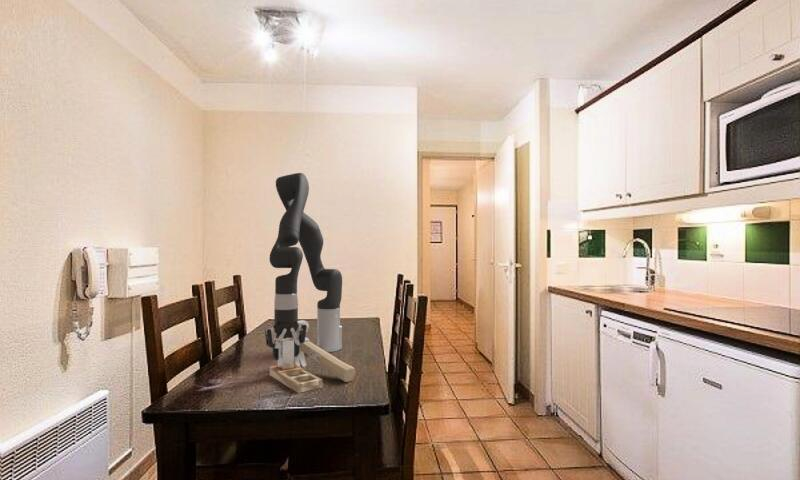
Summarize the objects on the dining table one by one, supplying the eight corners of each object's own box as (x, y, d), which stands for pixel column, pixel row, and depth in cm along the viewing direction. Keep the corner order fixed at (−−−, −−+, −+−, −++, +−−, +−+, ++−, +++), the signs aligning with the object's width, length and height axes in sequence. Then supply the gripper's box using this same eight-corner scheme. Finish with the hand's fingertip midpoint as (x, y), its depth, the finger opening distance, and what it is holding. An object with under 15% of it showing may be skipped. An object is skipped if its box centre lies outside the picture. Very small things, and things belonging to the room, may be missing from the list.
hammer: (359, 351, 144) (304, 319, 163) (348, 354, 140) (293, 321, 160) (351, 396, 146) (298, 359, 166) (340, 400, 143) (287, 362, 162)
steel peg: (288, 373, 152) (289, 338, 152) (293, 376, 149) (294, 340, 149) (277, 375, 150) (277, 339, 150) (282, 378, 146) (282, 341, 147)
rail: (292, 371, 155) (292, 363, 155) (322, 387, 138) (322, 378, 138) (269, 375, 150) (269, 366, 150) (298, 393, 133) (298, 383, 133)
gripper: (301, 304, 157) (301, 352, 157) (260, 307, 148) (260, 358, 148) (311, 306, 151) (310, 356, 151) (269, 310, 142) (269, 363, 142)
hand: (285, 357), depth 149 cm, fingers open, 6 cm apart
